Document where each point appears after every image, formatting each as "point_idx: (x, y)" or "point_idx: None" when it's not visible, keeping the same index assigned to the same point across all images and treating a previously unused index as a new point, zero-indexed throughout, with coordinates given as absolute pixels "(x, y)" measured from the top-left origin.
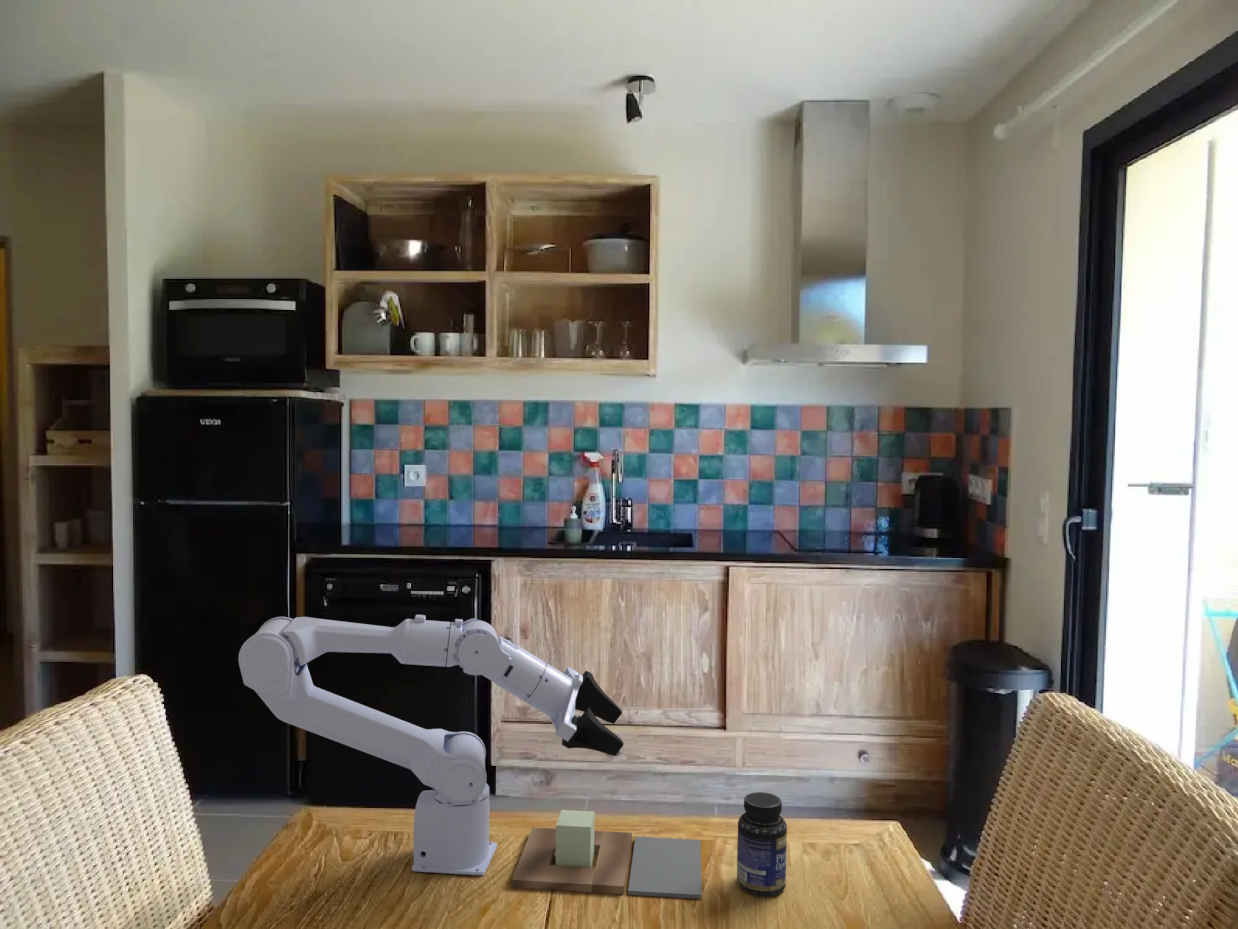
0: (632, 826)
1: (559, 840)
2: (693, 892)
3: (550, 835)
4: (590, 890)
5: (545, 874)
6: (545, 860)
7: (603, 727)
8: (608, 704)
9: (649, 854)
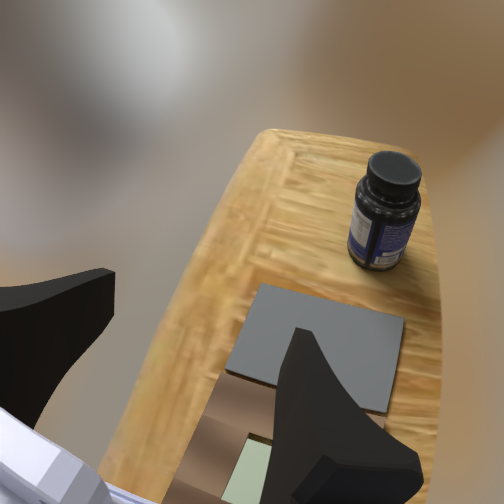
0: (180, 360)
1: None
2: (398, 326)
3: (191, 499)
4: None
5: None
6: None
7: (329, 388)
8: (79, 297)
9: None
